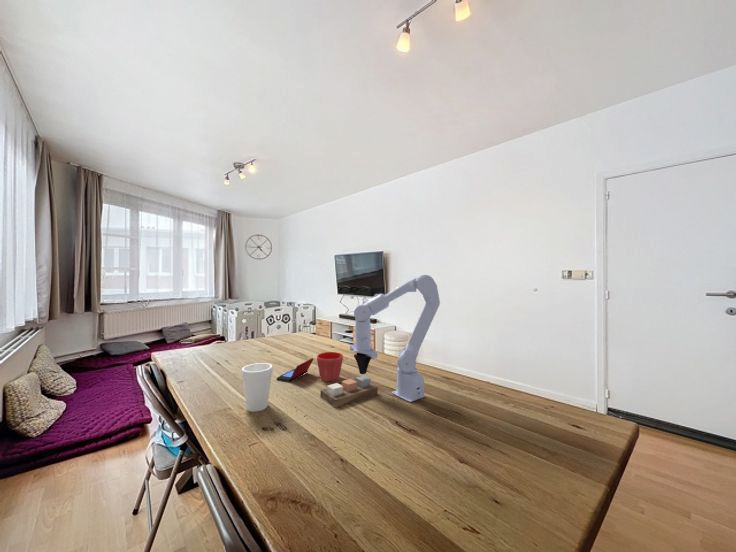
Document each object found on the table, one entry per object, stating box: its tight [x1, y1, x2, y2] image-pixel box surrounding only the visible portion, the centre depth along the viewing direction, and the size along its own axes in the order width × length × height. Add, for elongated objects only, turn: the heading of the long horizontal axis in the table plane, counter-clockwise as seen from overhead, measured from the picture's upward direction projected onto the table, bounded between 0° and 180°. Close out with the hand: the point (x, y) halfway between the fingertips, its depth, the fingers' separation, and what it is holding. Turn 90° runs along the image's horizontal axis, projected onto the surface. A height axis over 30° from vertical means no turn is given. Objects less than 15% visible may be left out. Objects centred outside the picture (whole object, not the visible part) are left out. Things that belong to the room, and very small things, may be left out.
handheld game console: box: [276, 357, 314, 383], centre depth 121 cm, size 12×11×7 cm
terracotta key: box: [341, 378, 357, 392], centre depth 102 cm, size 4×4×3 cm
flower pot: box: [316, 351, 344, 382], centre depth 119 cm, size 11×11×10 cm
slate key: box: [354, 375, 371, 388], centre depth 106 cm, size 4×4×3 cm
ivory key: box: [326, 382, 343, 396], centre depth 99 cm, size 4×4×3 cm
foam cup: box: [240, 362, 274, 413], centre depth 93 cm, size 10×9×13 cm
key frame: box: [320, 382, 379, 409], centre depth 102 cm, size 10×18×2 cm, turn 128°
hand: (363, 373), depth 106 cm, fingers closed
